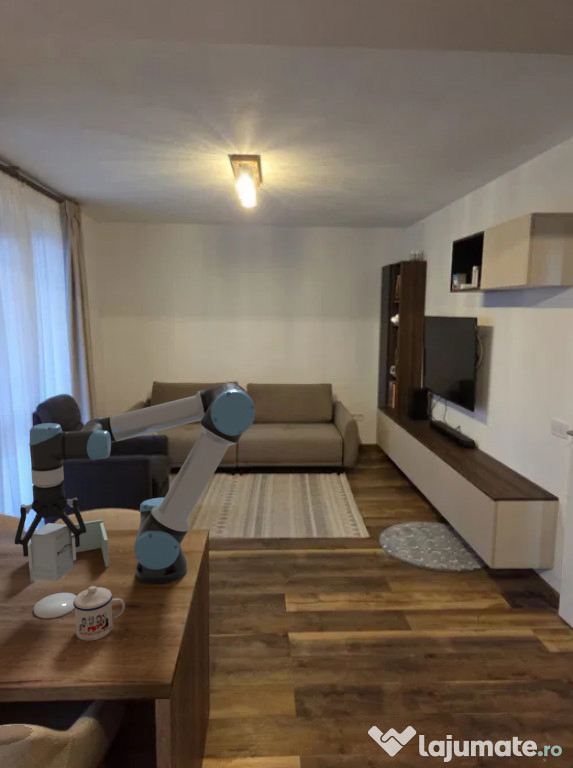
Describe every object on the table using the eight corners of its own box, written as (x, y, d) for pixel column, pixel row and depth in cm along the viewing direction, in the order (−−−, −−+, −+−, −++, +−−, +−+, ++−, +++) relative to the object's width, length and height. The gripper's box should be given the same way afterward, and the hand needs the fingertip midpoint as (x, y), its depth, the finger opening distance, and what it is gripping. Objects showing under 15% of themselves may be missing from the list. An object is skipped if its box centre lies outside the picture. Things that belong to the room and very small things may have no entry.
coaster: (86, 596, 140) (86, 594, 140) (62, 620, 130) (62, 618, 130) (50, 592, 142) (50, 590, 142) (24, 616, 131) (24, 613, 131)
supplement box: (57, 582, 130) (54, 536, 128) (32, 578, 132) (29, 533, 130) (74, 568, 137) (72, 524, 136) (50, 565, 139) (47, 522, 137)
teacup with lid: (75, 646, 120) (72, 601, 118) (75, 624, 128) (72, 582, 127) (127, 633, 125) (125, 590, 123) (123, 613, 133) (122, 572, 131)
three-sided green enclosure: (31, 559, 161) (29, 531, 160) (103, 545, 171) (102, 519, 169) (30, 582, 148) (28, 552, 146) (109, 566, 157) (107, 537, 156)
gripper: (92, 472, 139) (96, 548, 142) (0, 484, 129) (6, 564, 133) (95, 481, 132) (98, 559, 136) (-3, 493, 123) (4, 578, 126)
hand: (53, 562), depth 134 cm, fingers closed on supplement box, 10 cm apart
